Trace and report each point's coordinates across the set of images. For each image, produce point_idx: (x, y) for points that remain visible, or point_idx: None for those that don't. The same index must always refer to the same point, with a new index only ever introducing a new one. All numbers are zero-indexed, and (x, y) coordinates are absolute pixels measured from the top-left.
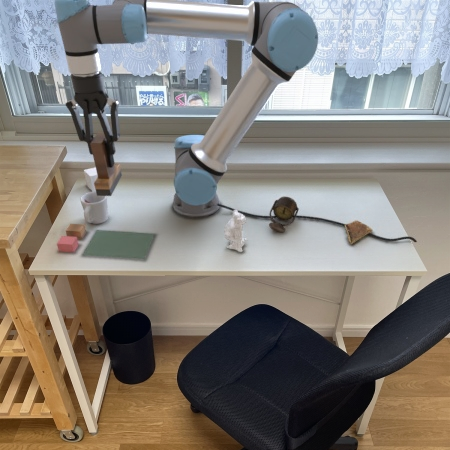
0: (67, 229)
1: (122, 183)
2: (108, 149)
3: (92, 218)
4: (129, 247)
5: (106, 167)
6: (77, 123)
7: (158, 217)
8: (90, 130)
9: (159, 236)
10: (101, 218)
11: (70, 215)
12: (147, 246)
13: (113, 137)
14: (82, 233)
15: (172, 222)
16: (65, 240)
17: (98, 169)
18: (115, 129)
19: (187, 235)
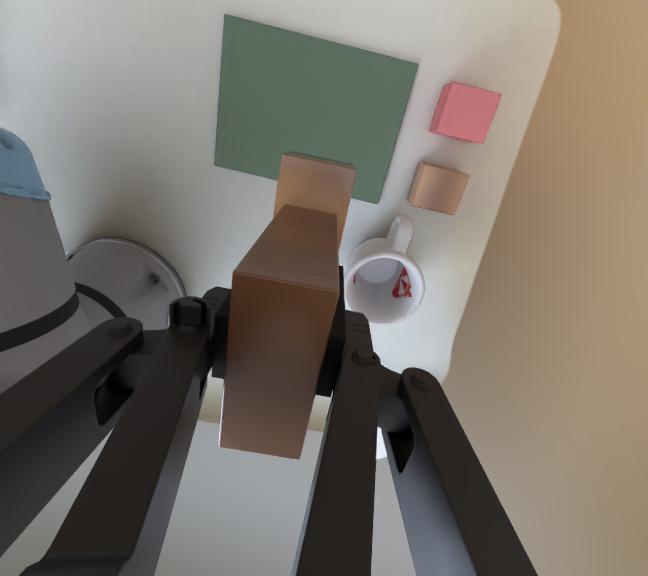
0: (463, 181)
1: (324, 412)
2: (228, 296)
3: (389, 234)
4: (278, 93)
5: (274, 217)
6: (468, 519)
7: (218, 254)
8: (326, 431)
9: (201, 155)
10: (364, 242)
11: (449, 292)
12: (225, 92)
13: (125, 338)
14: (418, 173)
15: (177, 225)
16: (472, 111)
17: (324, 224)
18: (30, 385)
19: (124, 151)
